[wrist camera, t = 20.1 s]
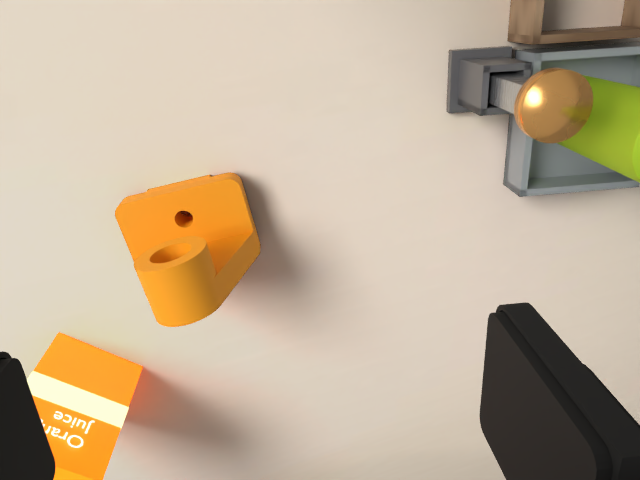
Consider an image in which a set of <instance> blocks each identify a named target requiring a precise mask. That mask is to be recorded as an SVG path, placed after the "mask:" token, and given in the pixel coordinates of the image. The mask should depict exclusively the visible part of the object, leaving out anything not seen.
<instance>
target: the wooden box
mask: <svg viewBox="0 0 640 480" xmlns="http://www.w3.org/2000/svg"><path fill="white" fill-rule="evenodd" d="M544 2H545V0H511V5H510V17H509V29H508V41H510V42H518V43H525V44H532V45H533V44H548V43H563V42H578V41H592V40H607V39H622V38H637V37H640V0H625V4H624V10H623V16H622V22H621V26H612V27H597V28H582V29H566V30H551V31H541V29H542V20H543V11H544Z"/></svg>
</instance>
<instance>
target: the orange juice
mask: <svg viewBox="0 0 640 480" xmlns="http://www.w3.org/2000/svg"><path fill="white" fill-rule="evenodd" d="M142 368H143V366H141V365H138V364H136V363H133V362H131V361H128V360H126V359H123V358H121V357H118V356H116V355H114V354H111V353H109V352H106V351H104V350H101V349H99V348H96V347H94V346H92V345H89V344H87V343H84V342H82V341H79V340H77V339H74V338H72V337H69V336H67V335H65V334H62V333H60V332H59V333H58V334H57V336H56V337H55V339H54V340H53V342H52V343H51V345H50V346H49V348H48V349H47V351H46V353H45V354H44V356H43V357H42V359H41V360H40V362H39V363H38V365H37V366H36V368H35V369H34V371H32V373H31V374H30V376H29V377H28V379H27V382H28V385H29V388H30V391H31V393H32V396H33V399H34V402H35V405H36V408H37V410H38V413H39V416H40V419H41V422H42V425H43V427H44V430H45V433H46V436H47V439H48V442H49V444H50V447H51V450H52V453H53V456H54V459H55V465H56V469H55V476H54V479H53V480H103V477H104V474H105V471H106V469H107V466H108V463H109V460H110V457H111V455H112V452H113V449H114V446H115V444H116V441H117V438H118V435H119V432H120V430H121V428H122V426H123V423H124V420H125V417H126V414H127V412H128V409H129V405H130V402H131V399H132V396H133V393H134V391H135V388H136V385H137V382H138V379H139V377H140V374H141V371H142Z"/></svg>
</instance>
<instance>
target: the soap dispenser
mask: <svg viewBox="0 0 640 480" xmlns="http://www.w3.org/2000/svg"><path fill="white" fill-rule="evenodd" d="M582 76H584V77H585V78H586V79H587V81H588V82H589V84H590V86H591V88H592V92H593V107H592V111H591V114H590V116H589V118H588V120H587V122H586V123H585V125H584V126H583V127H582V129H581V130H580V131H579V132H578V133H576V134H575V135H574V136H572V137H571V138H569V139H567V140H565V141H562V142H559V143H557V144H559V145H561V146H564V147H566V148H568V149H570V150H572V151H574V152H576V153H578V154H580V155H582V156H585V157H587V158H589V159H591V160H593V161H595V162H597V163H599V164H601V165H603V166H606V167H608V168H610V169H612V170H614V171H616V172H618V173H620V174H622V175H624V176H627V177H629V178H631V179H633V180H635V181H637V182H639V183H640V87H636V86H631V85H627V84H622V83H618V82H613V81H608V80H604V79H599V78H594V77H590V76H585V75H582Z"/></svg>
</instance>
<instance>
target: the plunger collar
mask: <svg viewBox="0 0 640 480" xmlns="http://www.w3.org/2000/svg"><path fill="white" fill-rule="evenodd" d="M511 56H512V47H510V46H503V47H488V48H473V49H458V50H449V63H448V87H447V112H448V113H458V112H474V113H476V114H478V115H480V116H483V115H496V114H510V112H508V111H506V110H504V109H501V108H499V107H497V106H494V105H492V104H490V103H488V89H489V76H490V72H503V71H509V72H512V73H516V74H520V75H524V76H527V77H530V75H531V65H532V62H527V61H523V60H518V59H513V58H511Z"/></svg>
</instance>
